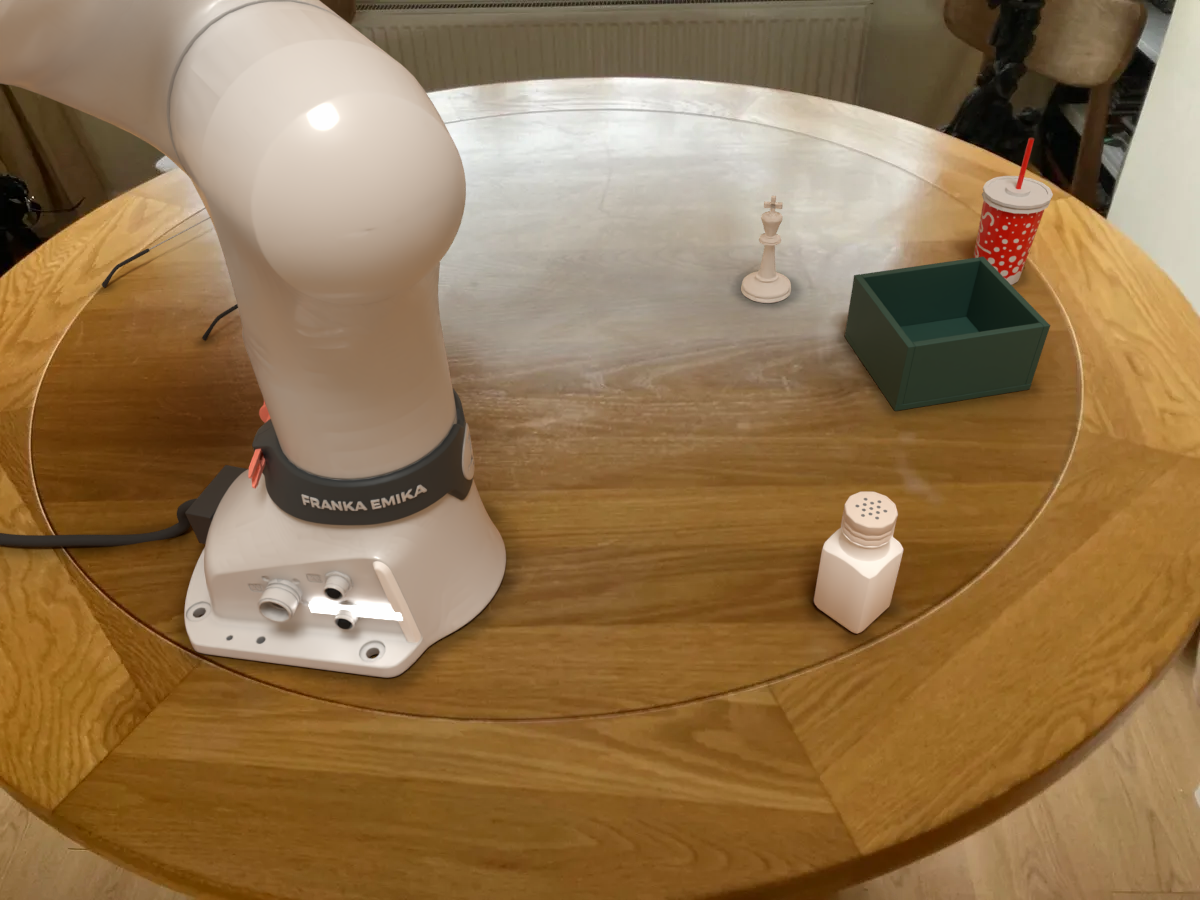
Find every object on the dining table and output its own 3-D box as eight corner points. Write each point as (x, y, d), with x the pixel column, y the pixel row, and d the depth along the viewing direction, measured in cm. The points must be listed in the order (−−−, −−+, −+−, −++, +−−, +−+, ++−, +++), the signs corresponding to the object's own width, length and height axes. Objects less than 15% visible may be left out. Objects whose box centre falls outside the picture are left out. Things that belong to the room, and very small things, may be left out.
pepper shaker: (857, 640, 63) (879, 542, 57) (808, 606, 66) (824, 508, 59) (893, 607, 65) (917, 508, 59) (844, 574, 67) (863, 476, 61)
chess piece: (789, 305, 93) (799, 211, 86) (738, 301, 94) (744, 208, 87) (792, 278, 97) (802, 186, 90) (743, 274, 97) (749, 183, 91)
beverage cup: (965, 254, 99) (997, 121, 89) (1028, 262, 97) (1068, 128, 88) (961, 285, 94) (994, 149, 85) (1027, 294, 93) (1068, 156, 83)
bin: (894, 411, 80) (908, 347, 76) (844, 336, 89) (853, 274, 84) (1029, 389, 82) (1050, 325, 77) (967, 317, 90) (983, 256, 86)
